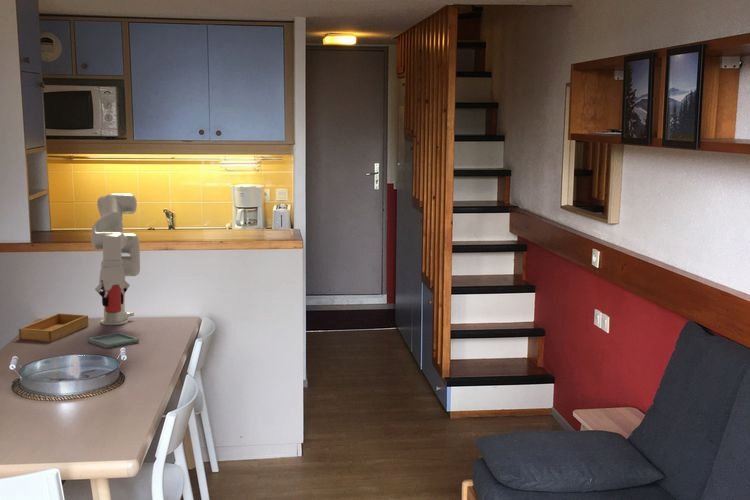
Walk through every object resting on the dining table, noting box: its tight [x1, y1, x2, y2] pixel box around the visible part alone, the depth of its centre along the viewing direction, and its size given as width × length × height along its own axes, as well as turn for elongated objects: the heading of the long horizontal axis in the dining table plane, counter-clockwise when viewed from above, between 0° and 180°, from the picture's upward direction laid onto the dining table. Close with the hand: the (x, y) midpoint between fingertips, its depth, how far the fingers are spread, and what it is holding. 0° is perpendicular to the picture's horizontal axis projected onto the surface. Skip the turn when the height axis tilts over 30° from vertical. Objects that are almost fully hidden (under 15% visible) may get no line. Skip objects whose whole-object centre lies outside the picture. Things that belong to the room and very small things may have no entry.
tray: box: [18, 312, 89, 343], centre depth 366 cm, size 31×15×6 cm, turn 170°
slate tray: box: [87, 332, 140, 349], centre depth 352 cm, size 15×15×2 cm
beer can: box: [105, 285, 121, 313], centre depth 349 cm, size 7×7×12 cm
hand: (113, 304), depth 350 cm, fingers closed on beer can, 6 cm apart
